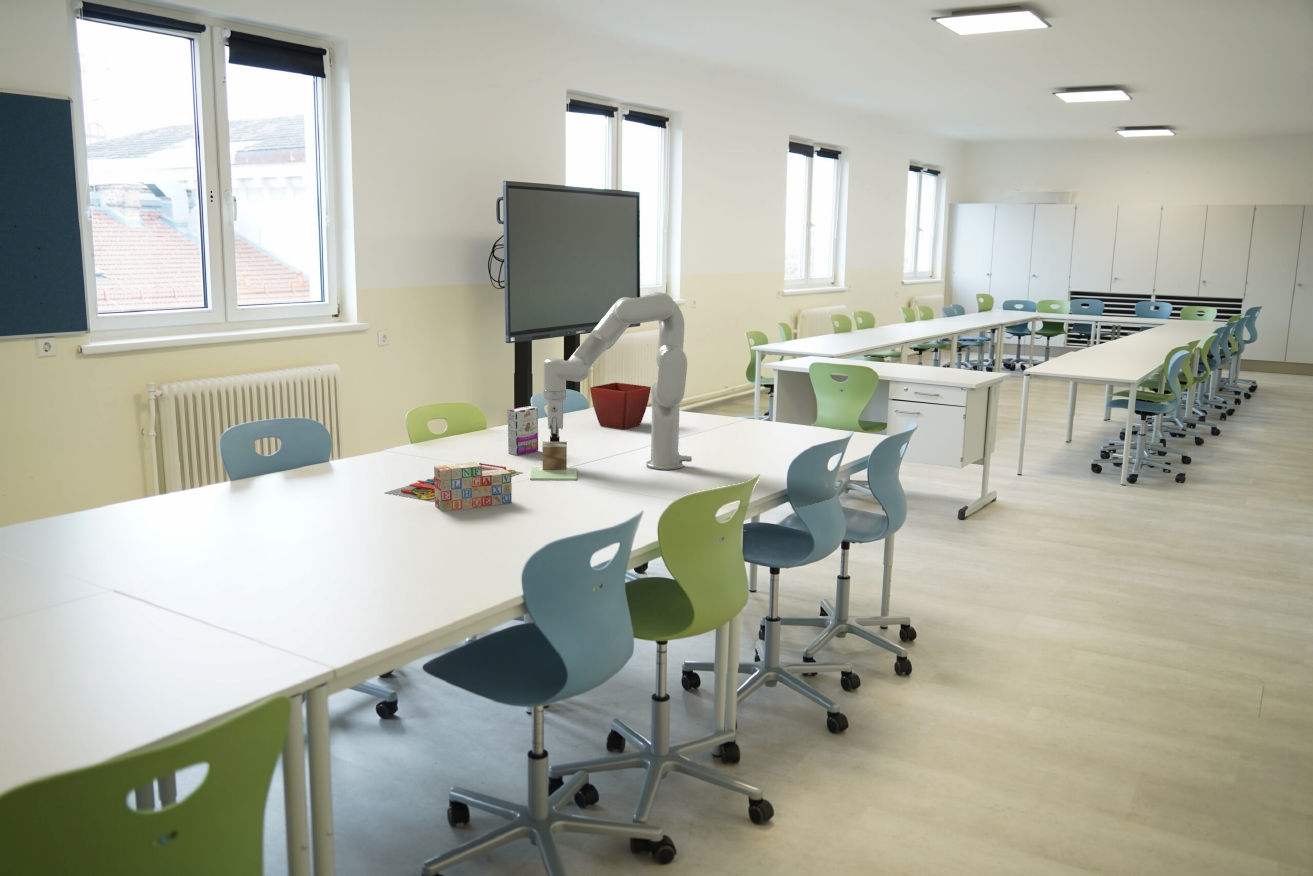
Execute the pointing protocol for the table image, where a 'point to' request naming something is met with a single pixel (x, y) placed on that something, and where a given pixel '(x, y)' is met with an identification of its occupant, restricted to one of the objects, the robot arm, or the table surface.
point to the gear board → (432, 486)
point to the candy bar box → (522, 430)
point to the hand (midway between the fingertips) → (554, 448)
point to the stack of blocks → (470, 486)
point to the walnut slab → (554, 455)
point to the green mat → (553, 474)
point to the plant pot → (620, 404)
